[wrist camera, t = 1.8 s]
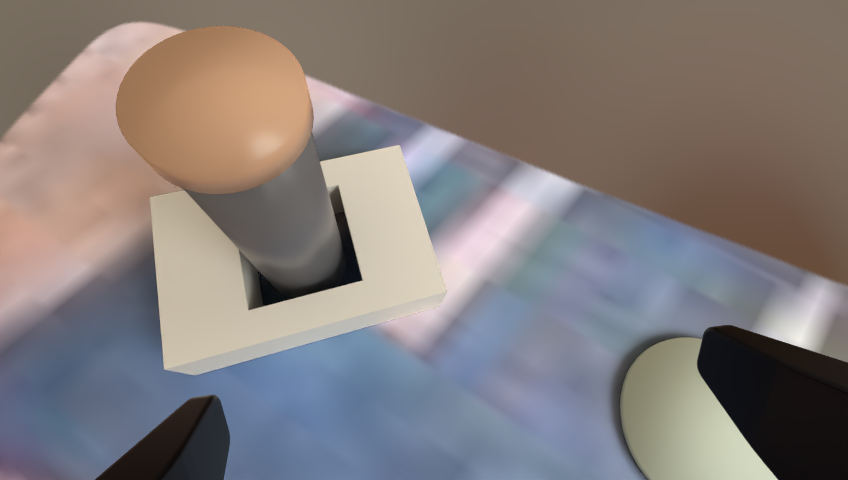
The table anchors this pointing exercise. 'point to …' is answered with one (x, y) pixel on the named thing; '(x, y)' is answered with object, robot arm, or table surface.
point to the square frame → (304, 316)
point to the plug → (239, 148)
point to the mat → (681, 420)
